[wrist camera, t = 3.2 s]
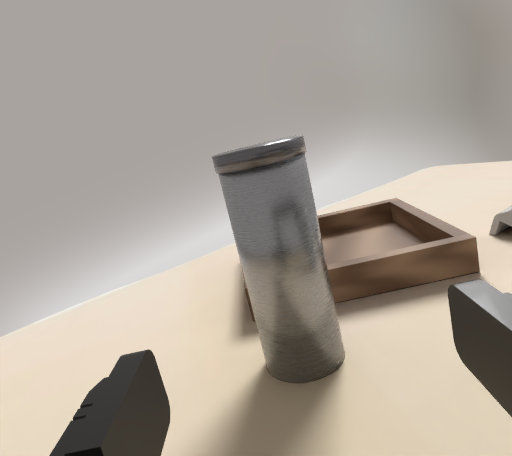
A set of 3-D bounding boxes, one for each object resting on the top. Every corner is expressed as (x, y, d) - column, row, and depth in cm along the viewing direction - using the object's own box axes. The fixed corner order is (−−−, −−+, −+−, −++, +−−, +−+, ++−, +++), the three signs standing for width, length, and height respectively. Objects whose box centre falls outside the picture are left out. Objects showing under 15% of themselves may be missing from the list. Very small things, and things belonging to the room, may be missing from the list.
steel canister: (337, 329, 26) (297, 134, 23) (355, 373, 21) (308, 136, 18) (264, 345, 26) (216, 153, 23) (266, 391, 21) (207, 159, 18)
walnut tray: (399, 220, 44) (396, 197, 44) (479, 271, 29) (476, 237, 28) (252, 253, 45) (247, 231, 44) (253, 320, 29) (244, 288, 29)
